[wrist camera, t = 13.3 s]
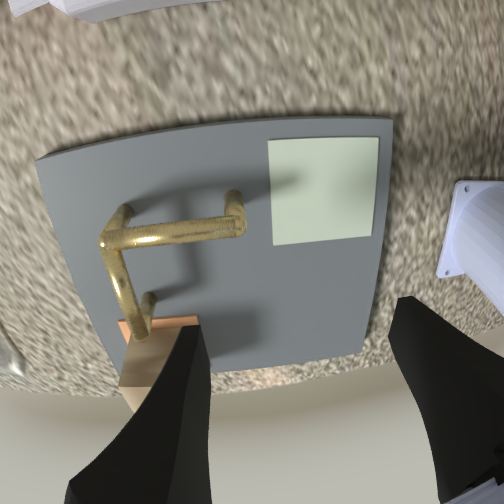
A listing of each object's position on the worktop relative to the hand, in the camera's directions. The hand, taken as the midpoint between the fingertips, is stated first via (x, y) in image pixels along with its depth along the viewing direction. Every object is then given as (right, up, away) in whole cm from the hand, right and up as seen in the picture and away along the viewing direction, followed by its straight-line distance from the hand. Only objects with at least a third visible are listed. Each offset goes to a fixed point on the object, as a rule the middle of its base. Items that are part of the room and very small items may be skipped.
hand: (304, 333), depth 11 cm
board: (-4, +2, +9) cm, 10 cm away
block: (-8, -4, +11) cm, 14 cm away
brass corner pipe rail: (-6, +3, +7) cm, 10 cm away
